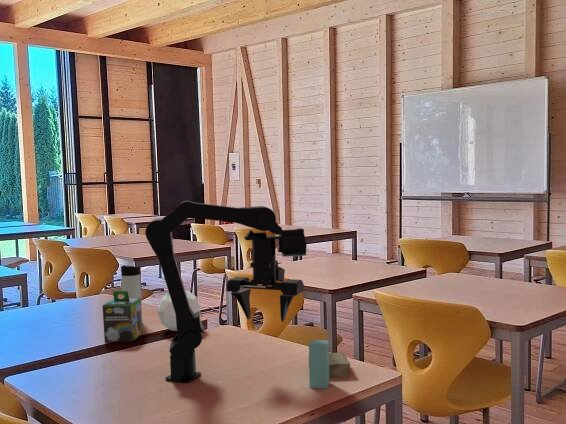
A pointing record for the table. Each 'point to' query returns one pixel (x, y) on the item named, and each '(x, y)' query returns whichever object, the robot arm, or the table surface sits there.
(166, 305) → the geodesic sphere
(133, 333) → the chalk box
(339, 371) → the base brick
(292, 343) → the table surface
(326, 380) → the pillar brick
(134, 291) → the travel mug
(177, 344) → the robot arm
